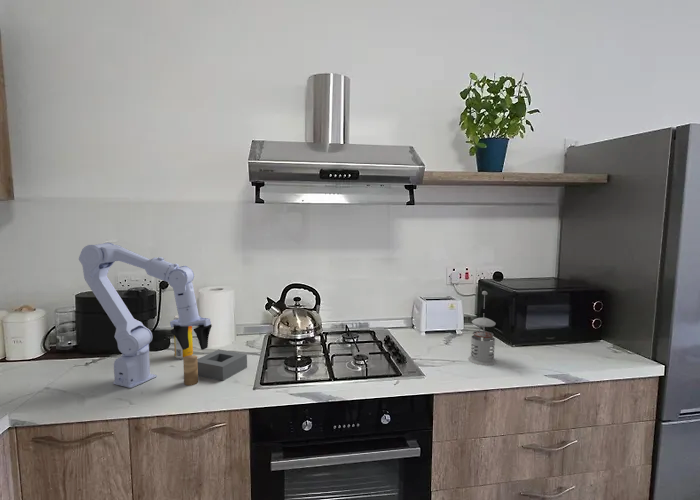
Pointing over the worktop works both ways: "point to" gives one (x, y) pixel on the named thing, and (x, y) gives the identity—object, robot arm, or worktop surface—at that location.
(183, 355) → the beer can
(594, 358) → the worktop surface
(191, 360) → the dowel
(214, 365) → the socket block
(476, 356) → the french press
